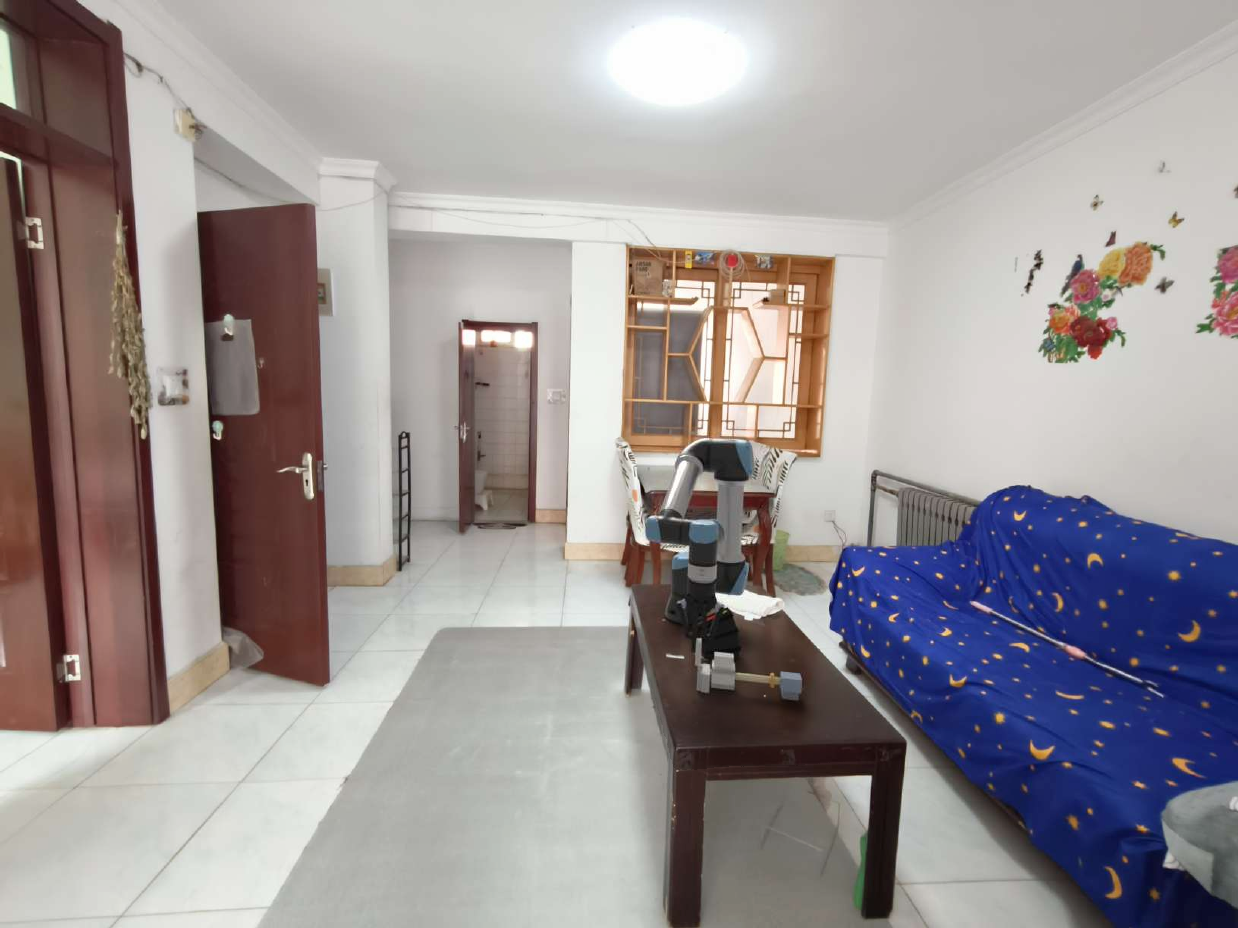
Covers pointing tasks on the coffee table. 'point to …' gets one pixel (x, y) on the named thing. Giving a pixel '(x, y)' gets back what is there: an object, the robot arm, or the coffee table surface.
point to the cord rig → (787, 681)
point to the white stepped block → (723, 671)
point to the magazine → (722, 635)
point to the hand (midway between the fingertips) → (697, 663)
